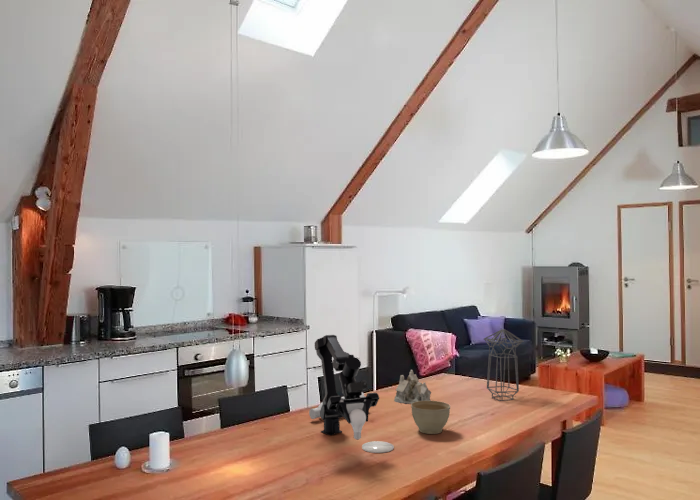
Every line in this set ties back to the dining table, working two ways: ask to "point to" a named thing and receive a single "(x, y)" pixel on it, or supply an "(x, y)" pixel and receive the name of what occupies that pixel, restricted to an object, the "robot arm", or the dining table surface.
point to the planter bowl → (430, 415)
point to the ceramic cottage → (411, 390)
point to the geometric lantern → (504, 361)
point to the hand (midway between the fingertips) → (358, 422)
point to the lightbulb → (357, 422)
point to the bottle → (316, 411)
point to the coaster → (377, 447)
